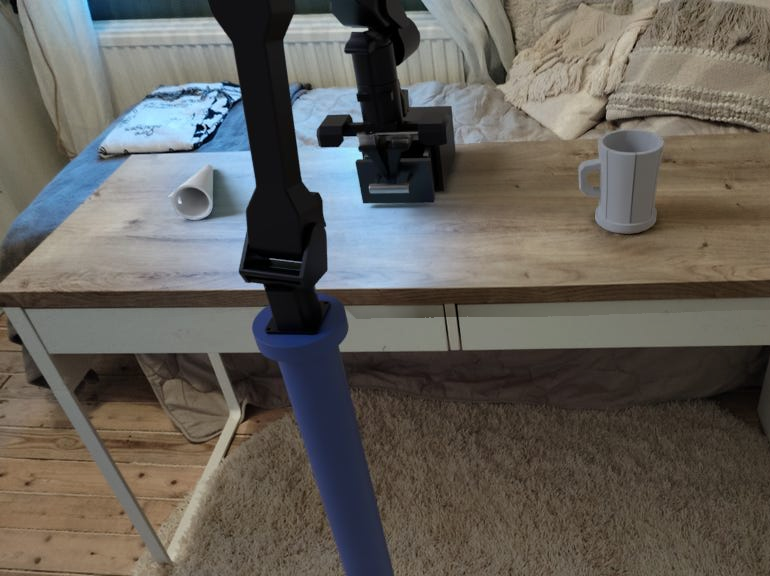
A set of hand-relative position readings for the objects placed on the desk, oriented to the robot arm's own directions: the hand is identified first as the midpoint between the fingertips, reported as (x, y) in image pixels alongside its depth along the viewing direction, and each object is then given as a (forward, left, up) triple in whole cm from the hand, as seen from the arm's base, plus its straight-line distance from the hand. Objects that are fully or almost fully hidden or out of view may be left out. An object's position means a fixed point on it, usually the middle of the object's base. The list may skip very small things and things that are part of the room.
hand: (393, 184), depth 107 cm
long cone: (+8, +34, -5) cm, 35 cm away
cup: (-3, -34, -5) cm, 34 cm away
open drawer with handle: (+6, 0, -4) cm, 7 cm away
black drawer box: (+15, 0, -5) cm, 15 cm away
